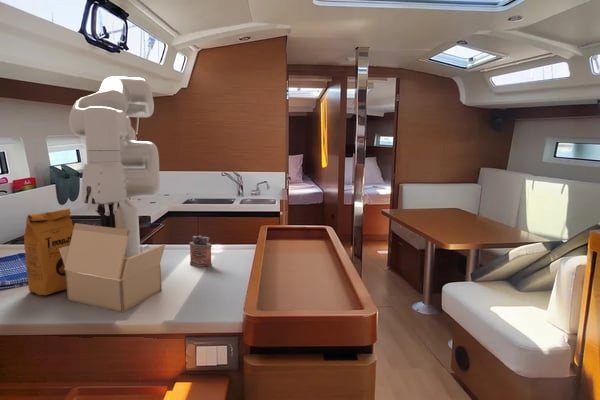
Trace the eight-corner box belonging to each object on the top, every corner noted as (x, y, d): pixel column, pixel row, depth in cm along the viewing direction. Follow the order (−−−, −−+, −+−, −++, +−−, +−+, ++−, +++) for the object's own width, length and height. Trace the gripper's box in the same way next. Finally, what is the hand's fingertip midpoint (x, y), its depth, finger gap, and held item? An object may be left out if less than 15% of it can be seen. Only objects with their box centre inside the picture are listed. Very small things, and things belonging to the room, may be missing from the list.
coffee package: (90, 285, 108) (84, 209, 104) (42, 300, 98) (33, 217, 94) (72, 278, 113) (66, 205, 110) (24, 291, 103) (16, 212, 99)
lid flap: (76, 223, 98) (74, 223, 98) (129, 229, 93) (127, 229, 92) (66, 270, 96) (64, 269, 96) (119, 279, 91) (117, 279, 90)
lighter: (187, 265, 126) (186, 236, 125) (194, 262, 129) (193, 233, 128) (208, 268, 123) (207, 238, 122) (214, 265, 126) (213, 236, 125)
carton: (104, 280, 112) (101, 235, 109) (168, 292, 104) (166, 243, 102) (61, 299, 99) (56, 248, 96) (130, 313, 91) (127, 259, 89)
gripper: (115, 157, 103) (119, 223, 105) (65, 158, 89) (71, 235, 91) (137, 157, 100) (141, 225, 103) (90, 159, 86) (95, 237, 89)
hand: (108, 229), depth 97 cm, fingers closed
